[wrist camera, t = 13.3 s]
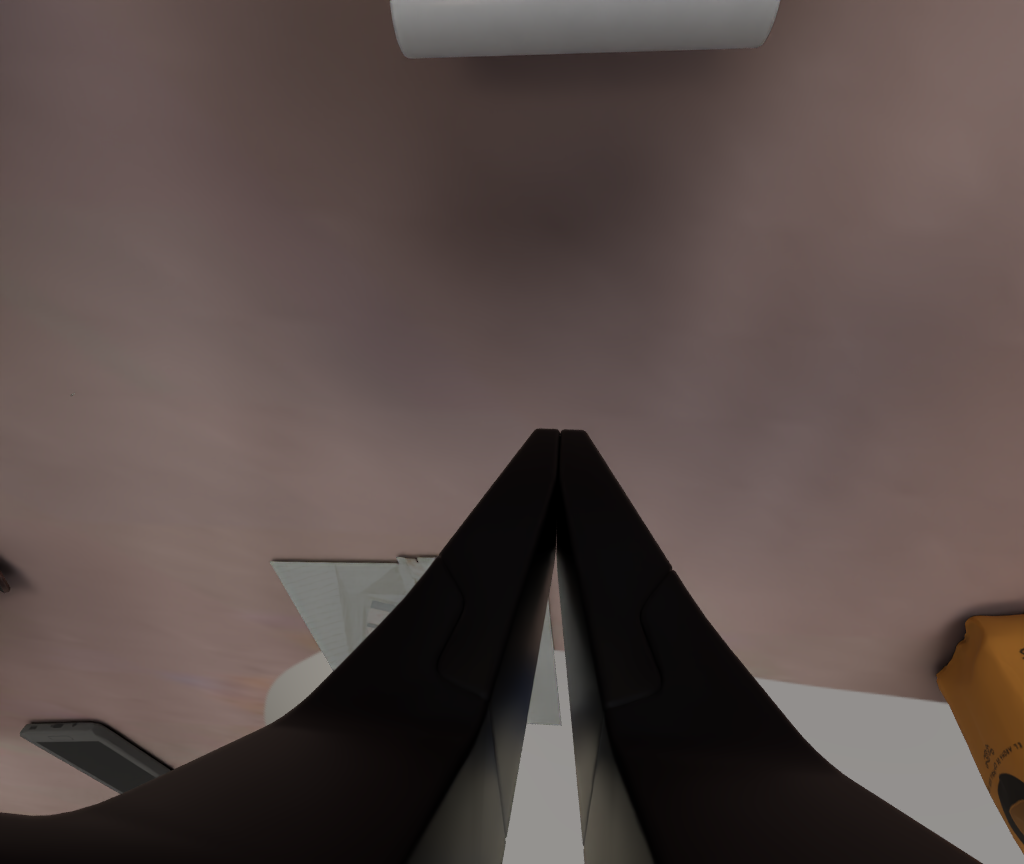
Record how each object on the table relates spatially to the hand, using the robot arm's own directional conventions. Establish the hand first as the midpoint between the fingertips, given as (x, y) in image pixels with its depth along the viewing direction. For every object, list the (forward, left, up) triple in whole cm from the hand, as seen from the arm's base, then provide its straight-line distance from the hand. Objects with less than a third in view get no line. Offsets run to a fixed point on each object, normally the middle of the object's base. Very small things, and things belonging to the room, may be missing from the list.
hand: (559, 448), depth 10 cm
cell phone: (-42, +35, -8) cm, 55 cm away
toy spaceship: (-17, +9, -8) cm, 21 cm away
